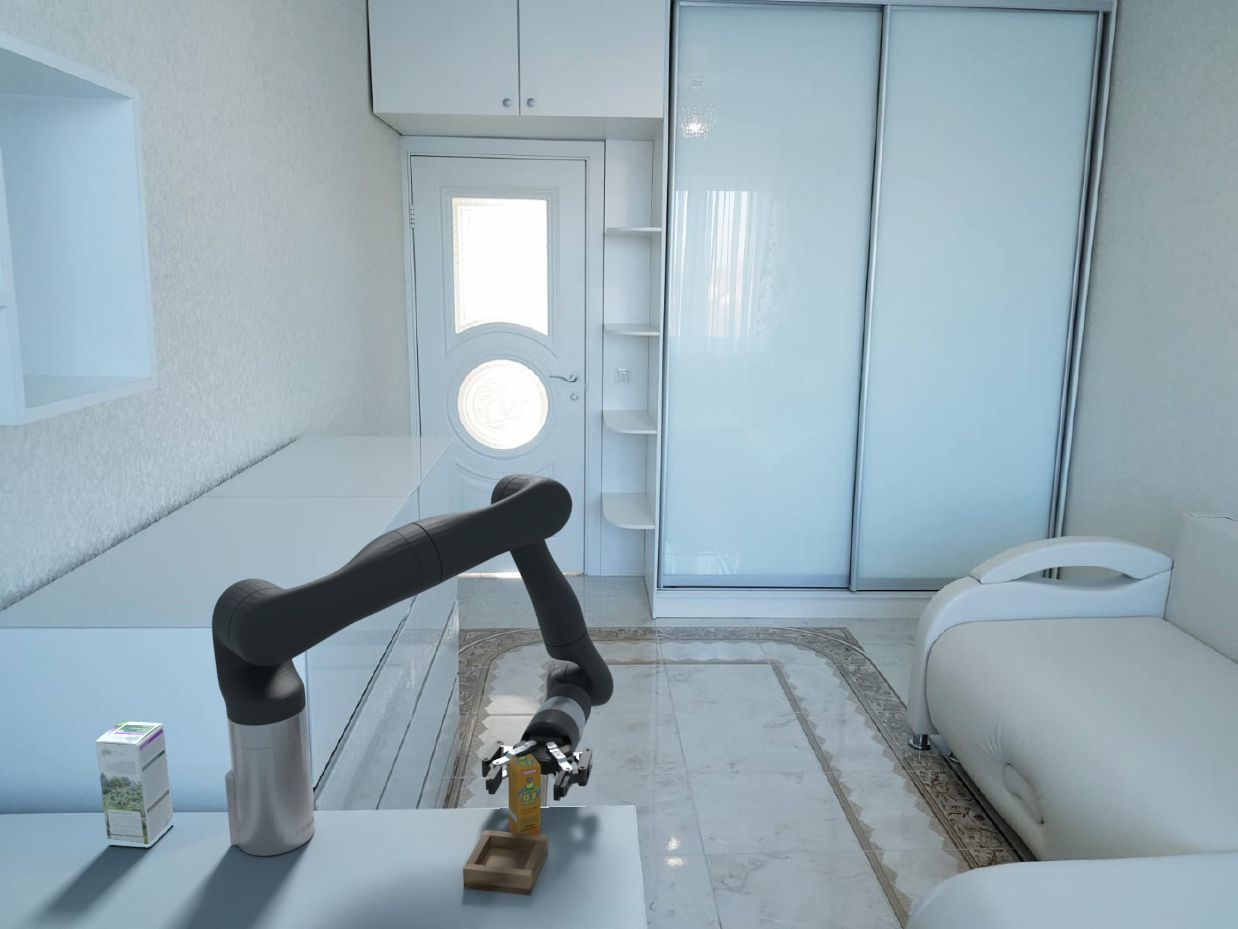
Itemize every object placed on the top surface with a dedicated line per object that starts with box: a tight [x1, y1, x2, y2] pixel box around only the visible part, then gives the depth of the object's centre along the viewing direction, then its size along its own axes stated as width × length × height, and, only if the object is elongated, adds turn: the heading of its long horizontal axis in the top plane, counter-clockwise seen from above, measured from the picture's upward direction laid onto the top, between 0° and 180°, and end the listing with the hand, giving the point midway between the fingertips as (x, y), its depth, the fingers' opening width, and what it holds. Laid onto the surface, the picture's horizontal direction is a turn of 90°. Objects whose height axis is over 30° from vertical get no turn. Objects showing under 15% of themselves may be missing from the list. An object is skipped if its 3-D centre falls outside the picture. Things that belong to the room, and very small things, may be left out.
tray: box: [462, 829, 549, 896], centre depth 112 cm, size 8×8×2 cm
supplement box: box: [507, 754, 542, 835], centre depth 119 cm, size 3×3×10 cm
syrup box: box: [95, 721, 174, 844], centre depth 119 cm, size 6×6×14 cm
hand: (523, 791), depth 119 cm, fingers open, 8 cm apart
